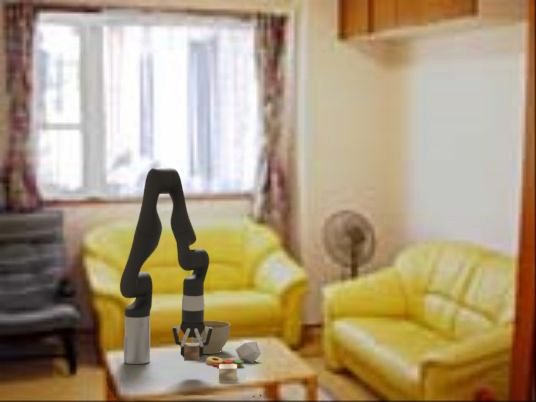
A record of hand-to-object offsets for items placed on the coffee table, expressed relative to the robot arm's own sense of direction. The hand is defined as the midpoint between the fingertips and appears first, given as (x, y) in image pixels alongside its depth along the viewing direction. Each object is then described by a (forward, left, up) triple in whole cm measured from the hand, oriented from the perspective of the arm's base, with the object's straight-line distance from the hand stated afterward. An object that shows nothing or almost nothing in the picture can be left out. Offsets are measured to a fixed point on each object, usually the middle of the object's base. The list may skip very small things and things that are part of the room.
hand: (192, 356), depth 291 cm
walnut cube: (0, 0, -1) cm, 1 cm away
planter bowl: (+4, +41, -8) cm, 42 cm away
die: (+19, +25, -8) cm, 32 cm away
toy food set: (+11, +17, -8) cm, 22 cm away
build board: (+12, -2, -8) cm, 15 cm away
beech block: (+12, -2, -7) cm, 14 cm away
